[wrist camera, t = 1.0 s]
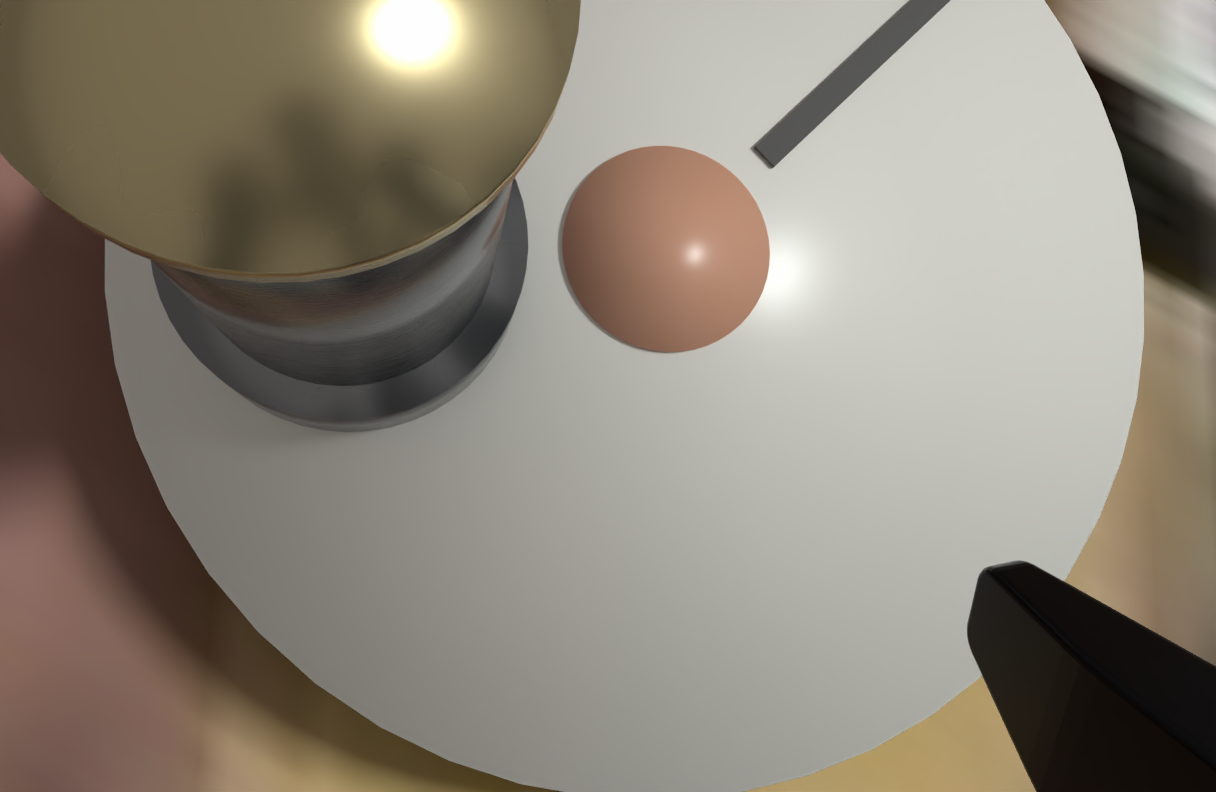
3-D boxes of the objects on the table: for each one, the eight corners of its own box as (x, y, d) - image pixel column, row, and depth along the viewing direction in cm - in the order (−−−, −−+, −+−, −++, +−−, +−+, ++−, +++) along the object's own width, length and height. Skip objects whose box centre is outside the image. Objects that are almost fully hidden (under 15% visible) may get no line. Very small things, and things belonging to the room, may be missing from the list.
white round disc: (656, 1030, 21) (669, 1056, 20) (-131, 219, 20) (-161, 201, 19) (1286, 294, 25) (1323, 283, 24) (657, -372, 25) (667, -413, 24)
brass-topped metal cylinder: (341, 503, 20) (241, 454, 9) (100, 253, 20) (-279, -85, 9) (586, 277, 22) (742, 11, 11) (362, 43, 21) (294, -462, 11)
